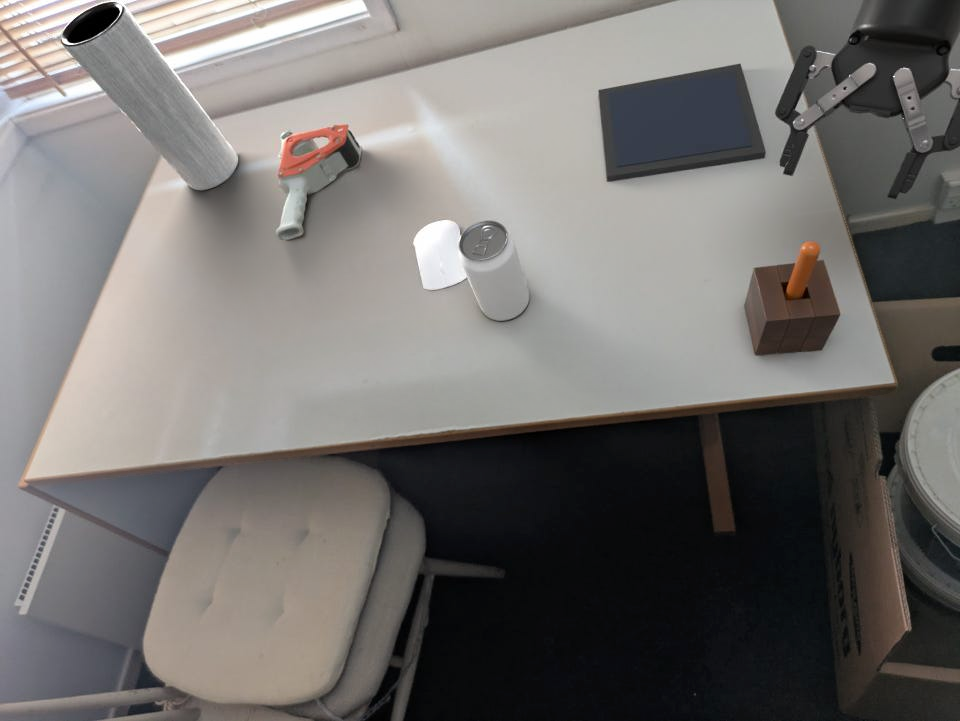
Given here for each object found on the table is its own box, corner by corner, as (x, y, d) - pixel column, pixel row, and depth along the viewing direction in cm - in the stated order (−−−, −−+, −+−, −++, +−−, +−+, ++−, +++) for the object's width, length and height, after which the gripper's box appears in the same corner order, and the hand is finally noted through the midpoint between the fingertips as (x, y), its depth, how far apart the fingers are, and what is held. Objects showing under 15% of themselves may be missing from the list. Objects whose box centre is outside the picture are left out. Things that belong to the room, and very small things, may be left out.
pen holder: (807, 298, 65) (823, 259, 59) (822, 350, 62) (841, 314, 56) (743, 305, 67) (753, 267, 61) (755, 355, 63) (766, 321, 58)
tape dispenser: (294, 255, 91) (390, 171, 92) (274, 234, 86) (377, 147, 88) (243, 199, 99) (333, 123, 101) (222, 178, 94) (317, 99, 96)
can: (537, 285, 75) (520, 221, 65) (519, 327, 72) (499, 267, 62) (491, 276, 77) (467, 213, 67) (472, 317, 75) (445, 258, 65)
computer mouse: (423, 294, 79) (417, 284, 77) (413, 230, 85) (407, 219, 83) (471, 279, 78) (467, 269, 76) (457, 216, 84) (453, 204, 82)
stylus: (788, 320, 65) (820, 236, 53) (791, 332, 64) (824, 250, 52) (772, 321, 65) (800, 238, 53) (775, 333, 64) (804, 252, 52)
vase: (209, 198, 100) (80, 52, 77) (177, 181, 105) (47, 38, 82) (249, 158, 103) (136, 6, 80) (217, 143, 107) (101, -5, 85)
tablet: (739, 69, 85) (740, 62, 84) (764, 157, 76) (766, 151, 75) (598, 95, 89) (598, 89, 88) (607, 181, 81) (606, 175, 80)
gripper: (826, -44, 47) (749, 167, 53) (1050, -30, 40) (934, 207, 46) (830, -16, 53) (761, 170, 59) (1026, -1, 46) (925, 205, 53)
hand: (837, 186), depth 53 cm, fingers open, 8 cm apart
